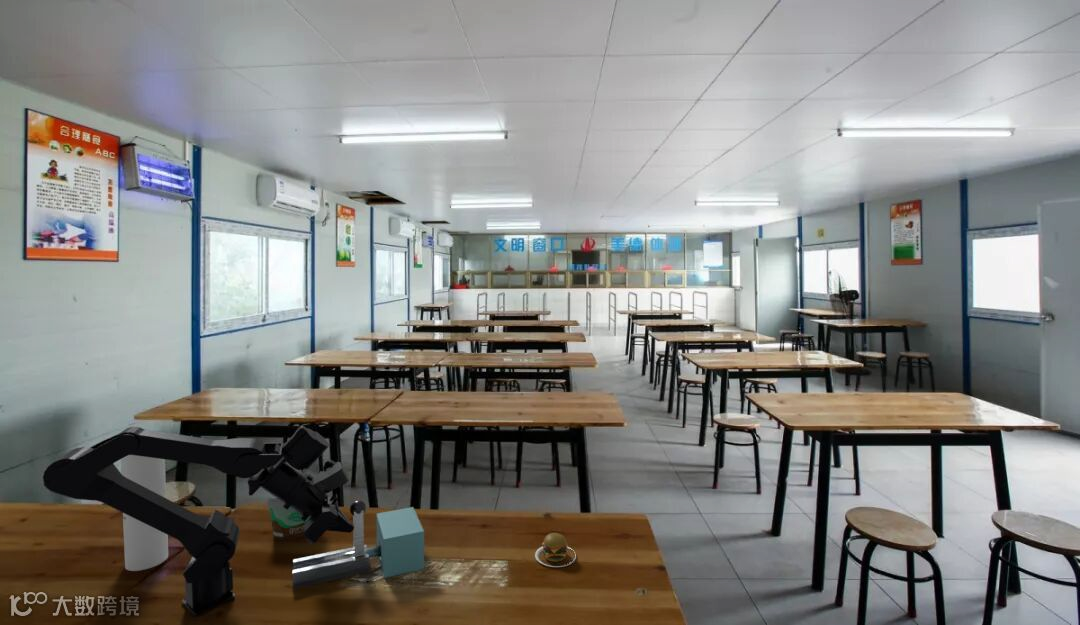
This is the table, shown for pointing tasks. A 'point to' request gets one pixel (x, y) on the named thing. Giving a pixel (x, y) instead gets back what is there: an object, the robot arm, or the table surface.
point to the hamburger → (554, 549)
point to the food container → (285, 520)
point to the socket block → (400, 541)
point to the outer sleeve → (327, 568)
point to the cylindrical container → (139, 538)
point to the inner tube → (357, 536)
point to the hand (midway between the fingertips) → (352, 529)
